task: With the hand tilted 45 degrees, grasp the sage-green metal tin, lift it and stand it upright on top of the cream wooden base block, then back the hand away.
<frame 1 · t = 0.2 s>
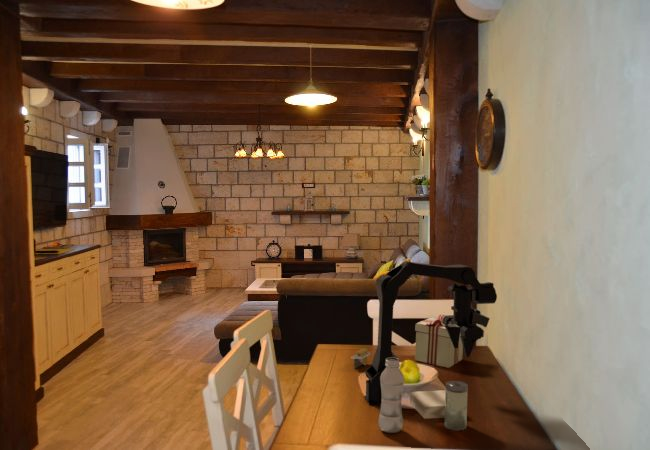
hand: (461, 352, 173), 15 cm above the table, tool pointing down, fingers open, 9 cm apart
open flap box: (361, 368, 203), on the table
base block: (435, 409, 163), on the table
gift box: (442, 361, 213), on the table
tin: (455, 426, 152), on the table
plastic bottle: (390, 431, 148), on the table
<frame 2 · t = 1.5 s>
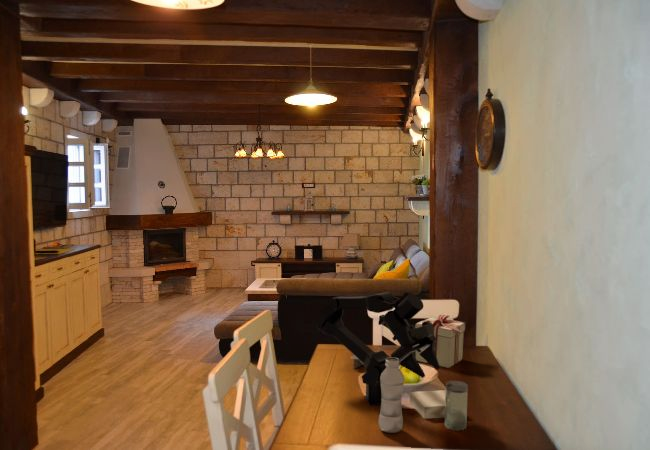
hand: (431, 372, 156), 13 cm above the table, tool tilted 45°, fingers open, 9 cm apart
nothing on the table moved.
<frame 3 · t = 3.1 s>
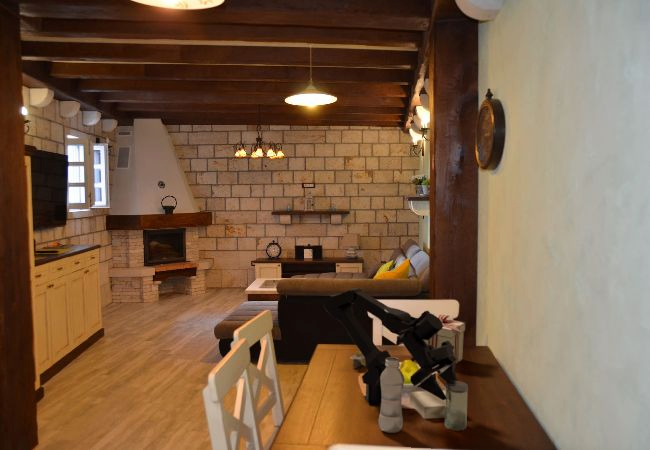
hand: (452, 394, 152), 9 cm above the table, tool tilted 45°, fingers open, 9 cm apart
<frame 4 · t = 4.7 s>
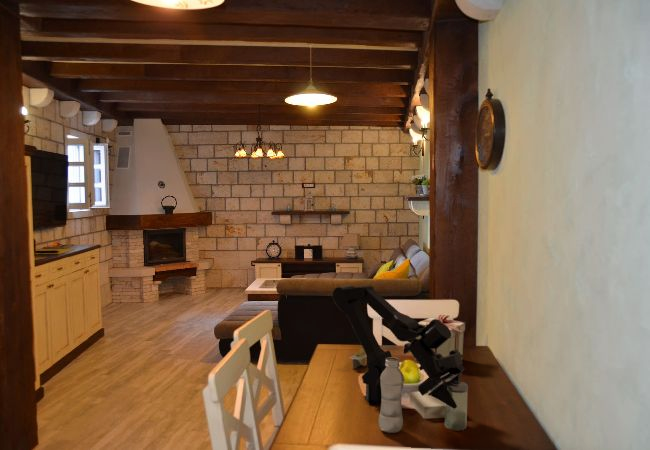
hand: (460, 404, 150), 7 cm above the table, tool tilted 45°, fingers closed on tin, 6 cm apart
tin: (455, 426, 152), on the table, touching gripper
everything else where it was.
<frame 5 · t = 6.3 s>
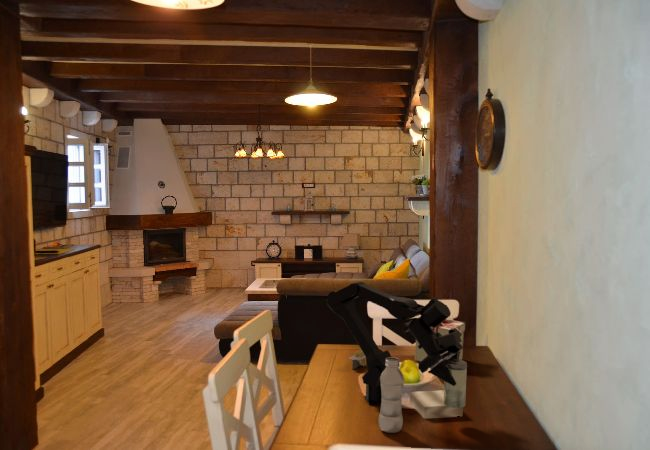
hand: (459, 382, 152), 12 cm above the table, tool tilted 45°, fingers closed on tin, 6 cm apart
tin: (454, 403, 153), point 6 cm above the table, touching gripper
when the fingers open (11 cm above the table, at t = 8.0 s): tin drops 1 cm, resting on base block.
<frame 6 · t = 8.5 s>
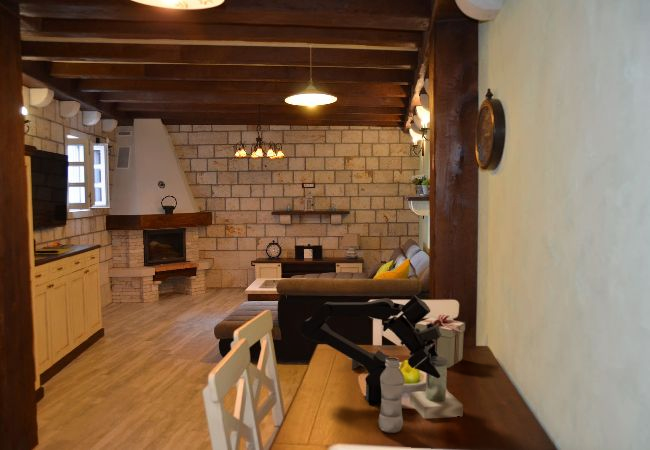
hand: (441, 372, 162), 12 cm above the table, tool tilted 45°, fingers open, 9 cm apart
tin: (435, 398, 163), point 4 cm above the table, touching base block
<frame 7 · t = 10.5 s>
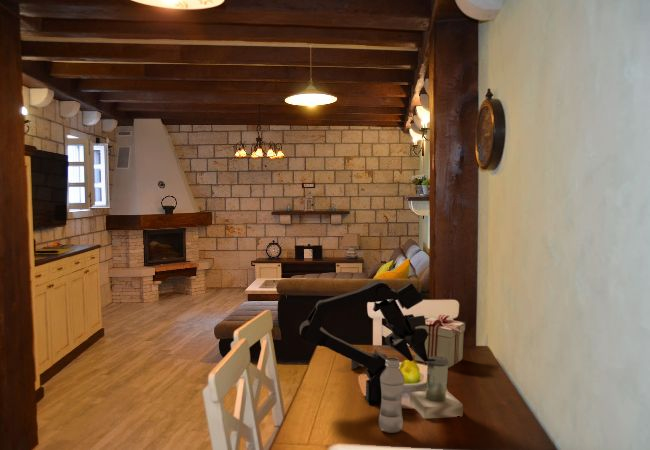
hand: (419, 361, 167), 13 cm above the table, tool tilted 30°, fingers open, 9 cm apart
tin: (435, 397, 163), point 4 cm above the table, touching base block, gripper
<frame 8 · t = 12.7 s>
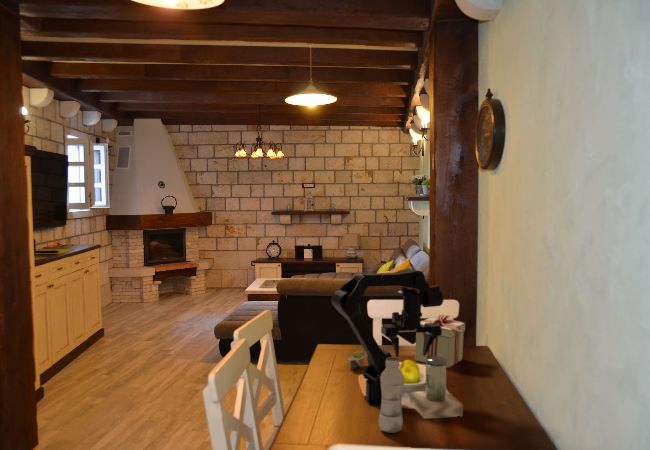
hand: (410, 356, 174), 13 cm above the table, tool pointing down, fingers open, 9 cm apart
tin: (435, 397, 163), point 4 cm above the table, touching base block
at the end: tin 0.1 cm off-centre on the base block, point 3.6 cm above the base block's base; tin tilted 1°; the gripper is holding nothing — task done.
